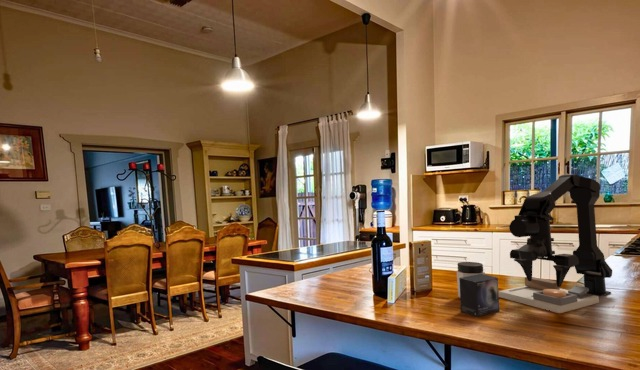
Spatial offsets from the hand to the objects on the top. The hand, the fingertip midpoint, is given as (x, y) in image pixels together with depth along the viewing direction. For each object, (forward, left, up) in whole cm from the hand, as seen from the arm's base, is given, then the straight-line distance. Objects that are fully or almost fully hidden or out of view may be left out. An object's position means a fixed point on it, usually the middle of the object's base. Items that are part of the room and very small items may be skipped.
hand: (543, 283), depth 107 cm
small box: (+22, -6, -7) cm, 24 cm away
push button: (0, +3, -4) cm, 5 cm away
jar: (+14, -16, -7) cm, 22 cm away
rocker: (-11, +4, -3) cm, 12 cm away
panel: (-5, -3, -6) cm, 9 cm away
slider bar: (-9, -7, -4) cm, 12 cm away
